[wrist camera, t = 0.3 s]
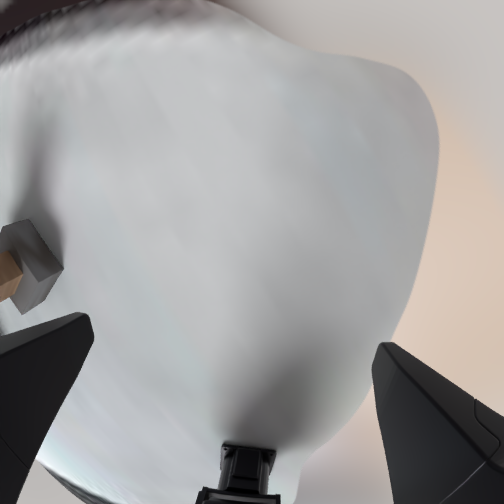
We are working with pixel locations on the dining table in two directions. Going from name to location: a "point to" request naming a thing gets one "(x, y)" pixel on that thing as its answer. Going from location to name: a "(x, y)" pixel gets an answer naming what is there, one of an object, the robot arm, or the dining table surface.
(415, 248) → the dining table surface
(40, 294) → the tall wooden pillar block
